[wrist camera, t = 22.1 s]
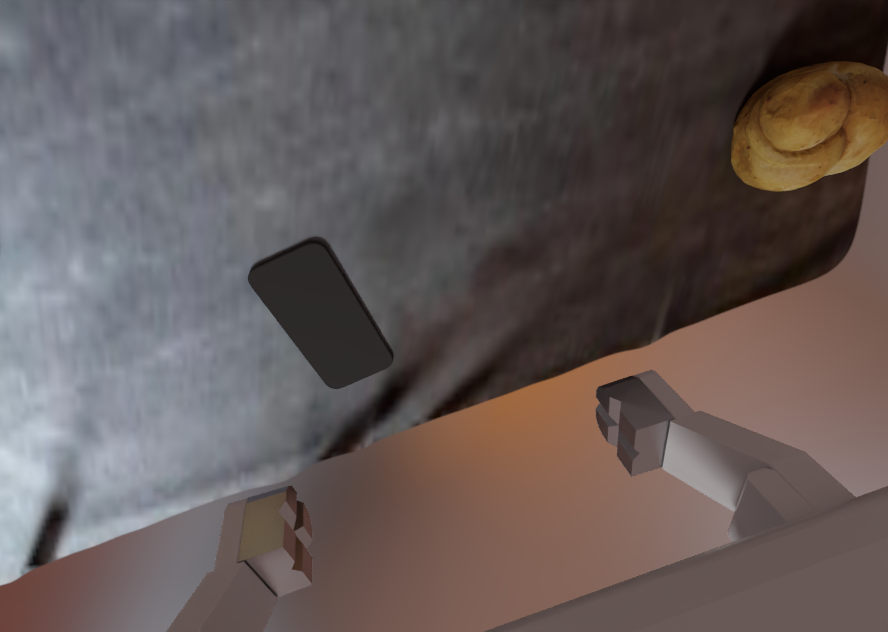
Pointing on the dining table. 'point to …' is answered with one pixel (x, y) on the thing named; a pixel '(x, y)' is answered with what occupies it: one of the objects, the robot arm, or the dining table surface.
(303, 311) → the phone
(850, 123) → the bread roll
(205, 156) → the dining table surface
